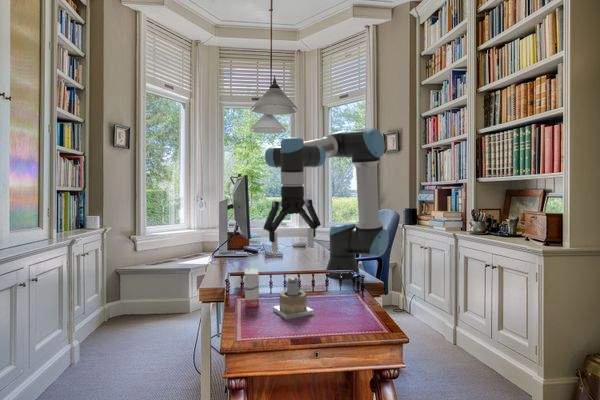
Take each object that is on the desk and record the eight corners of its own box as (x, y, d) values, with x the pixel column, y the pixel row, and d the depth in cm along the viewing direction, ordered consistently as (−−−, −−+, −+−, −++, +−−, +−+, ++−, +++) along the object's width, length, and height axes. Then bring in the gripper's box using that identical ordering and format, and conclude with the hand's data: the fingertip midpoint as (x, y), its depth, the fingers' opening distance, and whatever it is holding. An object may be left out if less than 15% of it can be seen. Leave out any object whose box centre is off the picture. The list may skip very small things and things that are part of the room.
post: (298, 306, 150) (298, 273, 149) (313, 314, 142) (313, 280, 141) (273, 310, 145) (272, 277, 145) (286, 319, 137) (286, 284, 136)
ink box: (258, 307, 149) (258, 273, 149) (244, 307, 149) (244, 274, 148) (259, 299, 158) (258, 268, 157) (245, 300, 158) (245, 268, 157)
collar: (297, 302, 149) (297, 288, 149) (310, 309, 142) (310, 294, 141) (276, 306, 145) (276, 292, 145) (287, 314, 138) (287, 298, 137)
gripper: (318, 184, 150) (319, 244, 151) (252, 186, 138) (253, 251, 139) (330, 184, 143) (330, 247, 145) (262, 187, 131) (263, 255, 133)
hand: (293, 249), depth 142 cm, fingers open, 13 cm apart
